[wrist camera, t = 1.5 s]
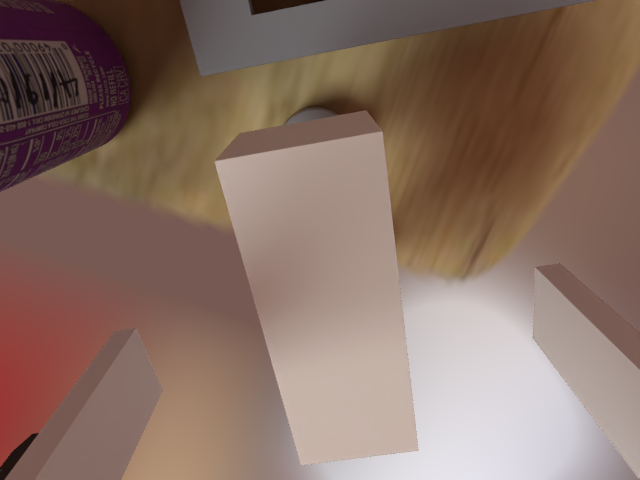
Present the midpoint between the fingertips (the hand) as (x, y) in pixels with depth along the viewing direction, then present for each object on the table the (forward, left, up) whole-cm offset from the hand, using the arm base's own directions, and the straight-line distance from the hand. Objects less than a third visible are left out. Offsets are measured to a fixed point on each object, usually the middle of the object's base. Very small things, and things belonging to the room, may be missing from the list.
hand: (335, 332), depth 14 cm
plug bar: (0, 0, -12) cm, 12 cm away
